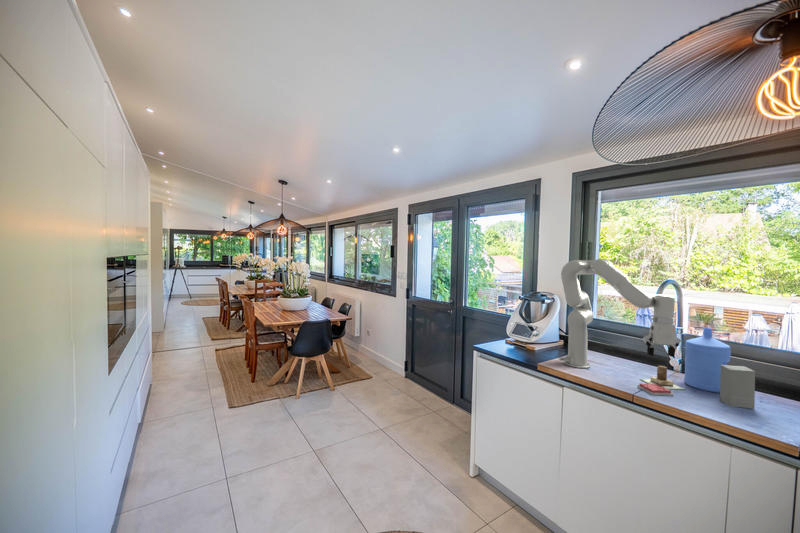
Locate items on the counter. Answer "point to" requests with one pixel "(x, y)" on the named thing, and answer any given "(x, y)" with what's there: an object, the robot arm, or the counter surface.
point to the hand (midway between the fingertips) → (660, 355)
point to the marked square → (664, 386)
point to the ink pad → (655, 389)
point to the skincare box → (737, 386)
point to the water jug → (705, 361)
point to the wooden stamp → (661, 377)
